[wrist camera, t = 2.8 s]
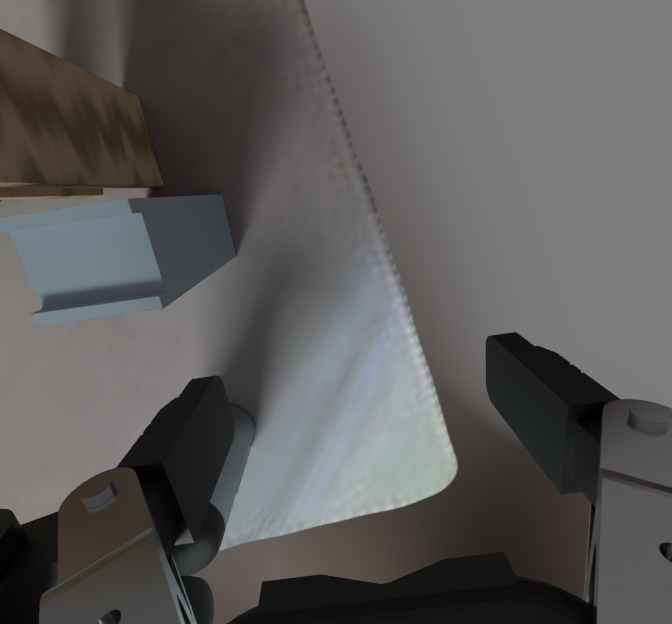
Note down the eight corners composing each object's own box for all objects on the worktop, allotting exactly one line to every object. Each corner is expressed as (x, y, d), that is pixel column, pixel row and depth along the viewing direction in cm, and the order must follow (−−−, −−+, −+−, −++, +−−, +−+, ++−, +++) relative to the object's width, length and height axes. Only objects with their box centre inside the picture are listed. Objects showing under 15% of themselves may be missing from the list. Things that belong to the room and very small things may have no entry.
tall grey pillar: (236, 255, 47) (162, 308, 26) (164, 266, 48) (35, 326, 27) (221, 194, 45) (127, 198, 24) (145, 205, 45) (-14, 219, 24)
